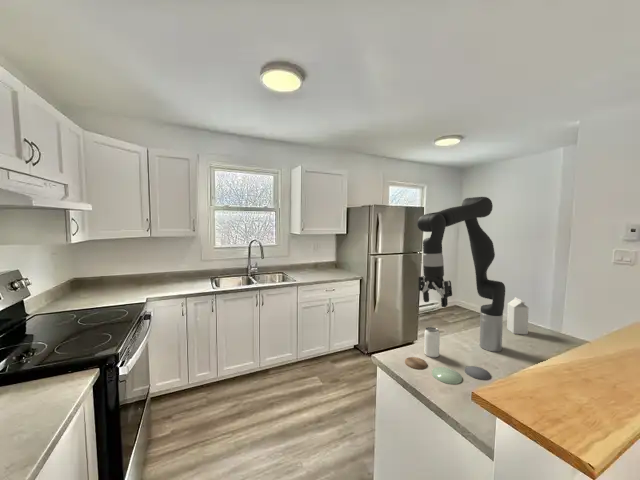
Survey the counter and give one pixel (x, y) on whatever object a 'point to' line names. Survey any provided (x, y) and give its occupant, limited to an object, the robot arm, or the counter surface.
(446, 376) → the sage coaster
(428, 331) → the can
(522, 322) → the milk carton
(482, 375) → the charcoal coaster
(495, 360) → the counter surface
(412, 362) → the walnut coaster
